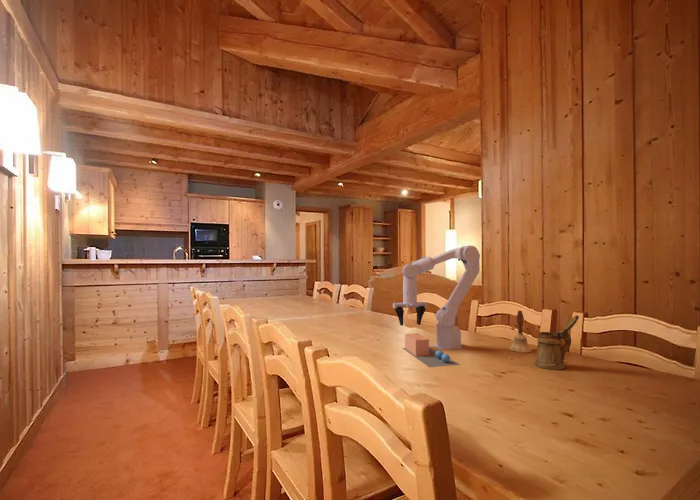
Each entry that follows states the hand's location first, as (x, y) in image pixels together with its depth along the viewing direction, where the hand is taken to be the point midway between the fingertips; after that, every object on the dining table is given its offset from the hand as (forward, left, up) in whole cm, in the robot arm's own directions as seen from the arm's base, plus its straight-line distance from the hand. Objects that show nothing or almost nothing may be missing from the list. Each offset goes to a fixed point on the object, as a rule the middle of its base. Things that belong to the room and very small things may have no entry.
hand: (410, 324), depth 148 cm
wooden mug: (-39, +36, -10) cm, 54 cm away
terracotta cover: (+1, +9, -9) cm, 13 cm away
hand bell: (-42, +14, -10) cm, 45 cm away
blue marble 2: (-4, +24, -9) cm, 26 cm away
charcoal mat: (-1, +15, -9) cm, 18 cm away
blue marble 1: (-4, +20, -9) cm, 22 cm away
